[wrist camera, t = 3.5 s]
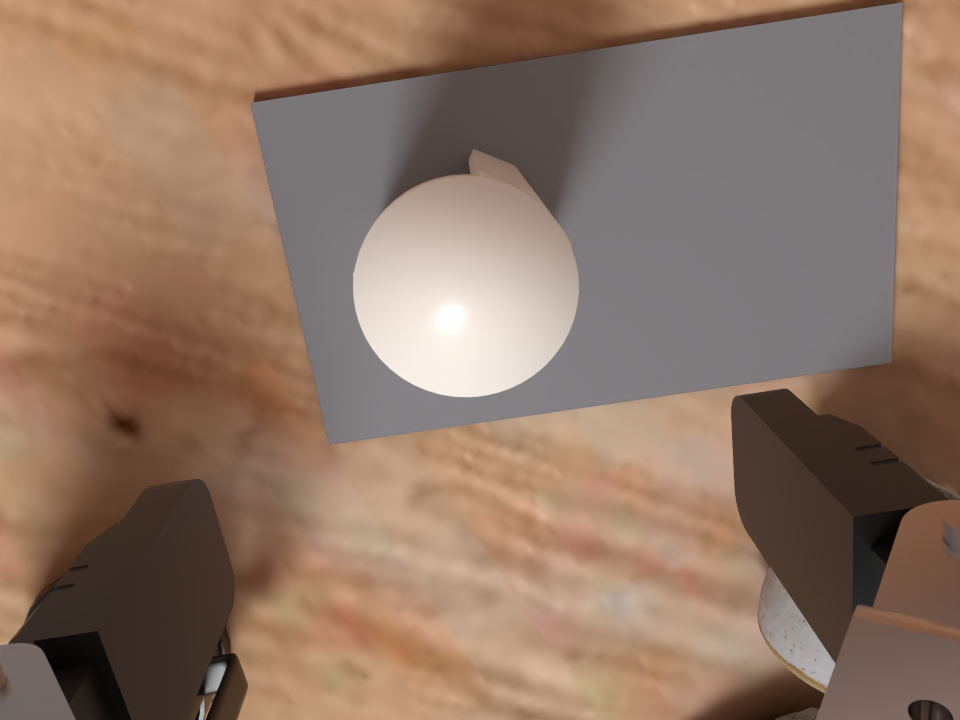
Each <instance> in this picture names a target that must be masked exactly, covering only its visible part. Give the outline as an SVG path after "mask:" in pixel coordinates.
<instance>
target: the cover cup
mask: <svg viewBox="0 0 960 720" xmlns="http://www.w3.org/2000/svg"><path fill="white" fill-rule="evenodd" d="M468 163H469V168H470V174H459V175H448V176H444V177H439V178H435V179H432V180H429V181H427V182H424V183H421V184H419V185H417V186H415V187H413V188H411V189H410V190H408V191H406V192H405V193H403V194H402V195H401V196H399V197H398V198H396V199H395V200H394V201H393V202H392V203H391V204H390V205H389V206H388V207H387V208H385V209H384V211H383V212H382V213H381V214H380V216H379V217H378V218H377V219H376V221H375V222H374V224H373V226H372V227H371V229H370V231H369V232H368V234H367V236H366V237H365V239H364V242H363V244H362V246H361V249H360V251H359V254H358V258H357V261H356V265H355V270H354V272H353V297H354V304H355V310H356V314H357V317H358V321H359V324H360V326H361V329H362V331H363V333H364V336H365V338H366V339H367V341H368V343H369V344H370V346H371V348H372V349H373V350H374V352H375V353H376V354H377V356H378V357H379V358H380V359H381V360H382V361H383V362H384V363H385V364H386V365H387V366H388V367H389V368H390V369H391V370H392V371H393V372H395V373H396V374H397V375H399V376H400V377H401V378H403V379H404V380H406V381H408V382H410V383H411V384H413V385H415V386H417V387H420V388H422V389H424V390H427V391H430V392H433V393H437V394H440V395H446V396H453V397H478V396H486V395H490V394H495V393H499V392H502V391H504V390H507V389H510V388H512V387H514V386H516V385H518V384H521V383H523V382H524V381H526V380H527V379H529V378H530V377H532V376H533V375H535V374H536V373H537V372H538V371H540V370H541V369H542V368H543V367H544V366H545V365H546V364H547V363H548V362H549V361H550V360H551V359H552V358H553V357H554V356H555V354H556V353H557V351H558V350H559V349H560V347H561V346H562V344H563V343H564V341H565V339H566V337H567V335H568V333H569V331H570V329H571V326H572V323H573V321H574V318H575V314H576V309H577V305H578V296H579V276H578V270H577V264H576V260H575V257H574V254H573V251H572V242H571V240H570V238H569V237H568V236H567V234H566V233H565V232H564V230H563V229H562V228H561V226H560V225H559V224H558V222H557V221H556V220H555V218H554V217H553V216H552V214H551V213H550V212H549V210H548V209H547V208H546V206H545V205H544V204H543V202H542V201H541V200H540V198H539V197H538V196H537V194H536V193H535V192H534V190H533V189H532V188H531V186H530V185H529V184H528V182H527V181H526V180H525V178H524V177H523V176H522V174H521V173H520V172H519V171H518V169H517V168H516V167H515V165H512V164H510V163H507V162H505V161H502V160H500V159H497V158H495V157H493V156H490V155H488V154H485V153H483V152H480V151H478V150H475V149H473V150H472V153H471V155H470V158H469V160H468Z"/></svg>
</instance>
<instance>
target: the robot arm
mask: <svg viewBox="0 0 960 720" xmlns="http://www.w3.org/2000/svg"><path fill="white" fill-rule="evenodd" d="M731 421H732V442H733V463H734V484H735V496H736V502H737V507H738V511H739V514H740V517H741V520H742V523H743V525H744V527H745V530H746V531H747V533H748V534H749V536H750V537H751V539H752V540H753V542H754V543H755V545H756V546H757V548H758V549H759V551H760V552H761V554H762V555H763V557H764V558H765V560H766V561H767V563H768V564H769V566H770V567H771V569H772V570H773V572H774V573H775V575H776V576H777V578H778V579H779V581H780V582H781V584H782V585H783V587H784V588H785V589H786V591H787V592H788V594H789V595H790V597H791V598H792V600H793V601H794V603H795V604H796V606H797V607H798V609H799V610H800V612H801V613H802V615H803V616H804V618H805V619H806V621H807V622H808V624H809V625H810V627H811V628H812V630H813V631H814V633H815V634H816V636H817V637H818V639H819V640H820V642H821V643H822V645H823V646H824V647H825V649H826V650H827V652H828V653H829V655H830V656H831V658H832V659H833V661H834V662H835V667H834V670H833V672H832V675H831V678H830V681H829V684H828V686H827V689H826V692H825V695H824V698H823V700H822V703H821V706H820V709H819V712H818V714H817V717H816V720H960V500H949V499H948V498H946V497H945V496H944V495H943V494H941V493H940V492H939V491H938V490H937V489H935V488H934V487H933V486H932V485H931V484H929V483H928V482H927V481H926V480H925V479H923V478H922V477H921V476H920V475H918V474H917V473H916V472H915V471H914V470H912V469H911V468H910V467H909V466H908V465H906V464H905V463H904V462H899V459H898V457H897V456H896V455H894V454H893V453H892V452H891V451H889V450H888V449H887V448H886V447H883V448H882V446H881V443H880V442H879V441H877V440H876V439H875V438H874V437H873V436H871V435H870V434H869V433H868V432H867V431H865V430H864V429H863V428H862V427H860V426H858V425H855V424H853V423H850V422H847V421H845V420H842V419H840V418H837V417H835V416H832V415H830V414H827V415H821V416H818V415H816V414H815V413H814V412H813V411H812V410H811V409H810V408H809V407H807V406H806V405H805V404H804V403H803V402H802V401H801V400H800V399H799V398H797V397H796V396H795V395H794V394H793V393H792V392H791V391H789V390H788V389H779V390H772V391H766V392H759V393H753V394H747V395H740V396H736V397H734V399H733V402H732V407H731ZM54 588H55V591H52V592H50V593H49V594H48V596H47V597H46V598H45V599H44V601H43V602H42V603H41V605H40V606H39V607H38V608H37V610H36V611H35V612H34V614H33V615H32V616H31V617H30V619H29V620H28V621H27V623H26V624H25V625H24V627H23V628H22V629H21V630H20V632H19V633H18V634H17V636H16V637H15V638H14V639H13V641H12V642H11V643H10V644H7V645H1V646H0V720H187V719H188V716H189V714H190V711H191V709H192V706H193V704H194V701H195V699H196V696H197V694H198V691H199V689H200V686H201V684H202V681H203V679H204V677H205V674H206V672H207V669H208V667H209V664H210V662H211V659H212V657H213V654H214V652H215V649H216V647H217V644H218V642H219V639H220V637H221V635H222V632H223V630H224V627H225V625H226V622H227V620H228V617H229V615H230V612H231V609H232V606H233V601H234V577H233V571H232V566H231V563H230V559H229V556H228V553H227V549H226V546H225V543H224V539H223V536H222V533H221V529H220V526H219V523H218V520H217V516H216V513H215V510H214V506H213V503H212V500H211V496H210V493H209V491H208V489H207V487H206V485H205V484H204V482H203V481H202V480H200V479H194V480H187V481H181V482H174V483H168V484H161V485H155V486H149V487H147V488H146V489H145V490H144V491H143V493H142V494H141V495H140V497H139V498H138V499H137V501H136V502H135V503H134V505H133V506H132V508H131V509H130V510H129V512H128V513H127V514H126V516H125V517H124V518H123V520H122V521H121V522H120V523H117V524H114V525H113V526H112V527H110V528H109V529H108V530H106V531H105V532H104V533H102V534H101V535H100V536H98V537H97V538H96V539H94V540H93V541H92V542H90V543H89V544H88V545H86V546H85V548H84V549H83V550H82V552H81V553H80V554H79V556H78V557H77V558H76V559H75V561H74V562H73V563H72V565H71V566H70V567H69V572H65V574H64V575H63V576H62V577H61V579H60V580H59V581H58V583H57V584H56V585H55V586H54Z"/></svg>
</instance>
